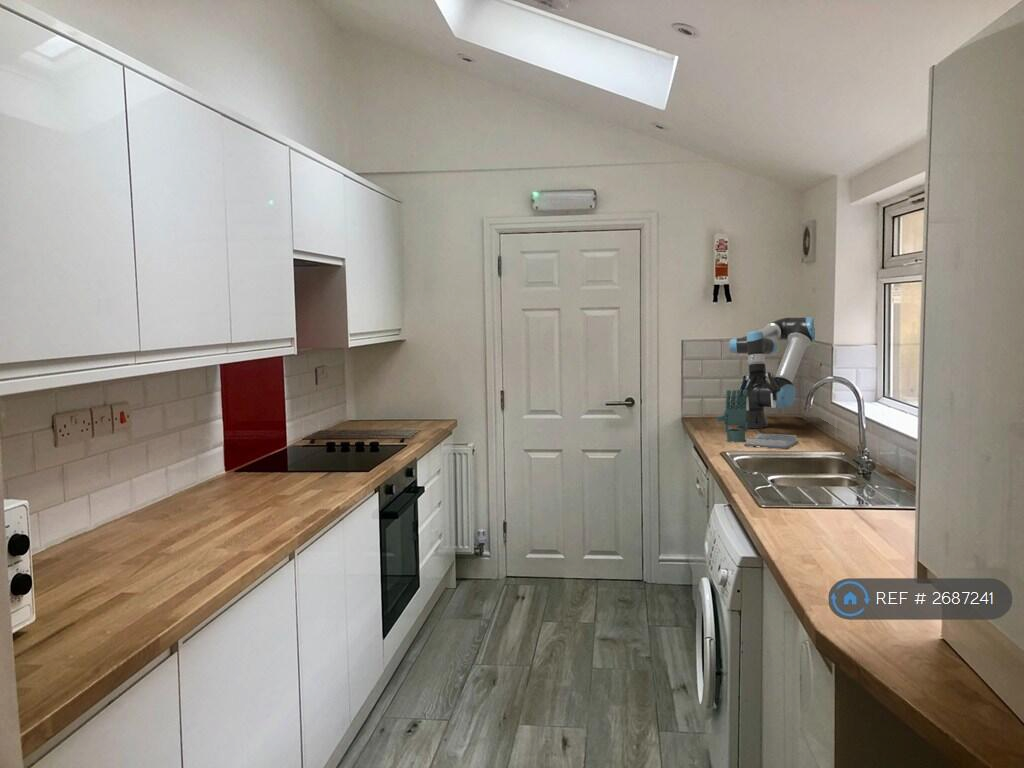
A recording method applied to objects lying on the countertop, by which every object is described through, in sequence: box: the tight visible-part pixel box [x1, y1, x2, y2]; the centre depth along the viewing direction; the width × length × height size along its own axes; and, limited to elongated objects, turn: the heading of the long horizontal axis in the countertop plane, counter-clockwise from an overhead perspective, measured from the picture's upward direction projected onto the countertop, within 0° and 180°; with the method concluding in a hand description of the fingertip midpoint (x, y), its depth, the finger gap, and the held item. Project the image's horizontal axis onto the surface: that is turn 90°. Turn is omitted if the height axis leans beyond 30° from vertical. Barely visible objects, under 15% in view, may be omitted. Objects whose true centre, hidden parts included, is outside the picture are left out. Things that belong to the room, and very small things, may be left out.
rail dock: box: [743, 432, 799, 450], centre depth 355 cm, size 18×18×4 cm
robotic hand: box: [716, 388, 748, 443], centre depth 366 cm, size 14×10×25 cm
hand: (760, 409), depth 376 cm, fingers open, 13 cm apart
